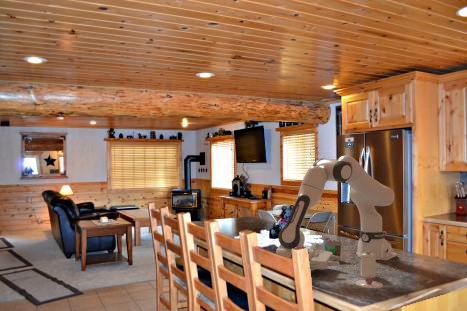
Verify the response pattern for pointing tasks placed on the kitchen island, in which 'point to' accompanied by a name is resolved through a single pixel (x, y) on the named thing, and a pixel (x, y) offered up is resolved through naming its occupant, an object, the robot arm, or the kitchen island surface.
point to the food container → (332, 246)
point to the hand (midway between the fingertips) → (340, 261)
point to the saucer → (372, 285)
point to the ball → (369, 280)
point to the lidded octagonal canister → (368, 264)
